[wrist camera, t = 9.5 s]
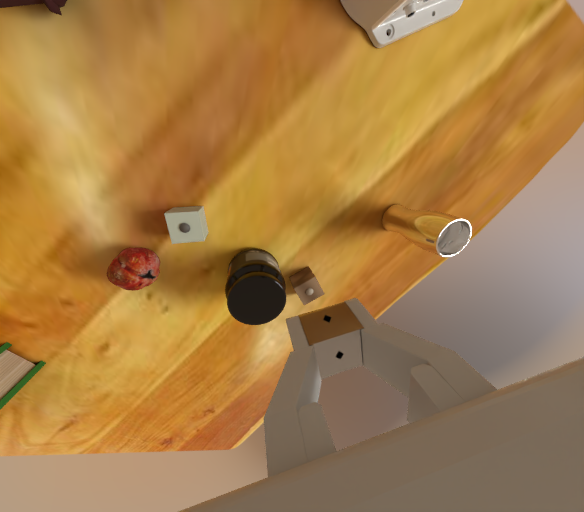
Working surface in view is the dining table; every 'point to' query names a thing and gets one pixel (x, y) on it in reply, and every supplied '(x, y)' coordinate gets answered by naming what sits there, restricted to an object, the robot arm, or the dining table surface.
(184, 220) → the sage cube
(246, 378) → the dining table surface
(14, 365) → the hardback book
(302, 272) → the walnut cube
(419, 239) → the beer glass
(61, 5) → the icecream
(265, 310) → the supplement container
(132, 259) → the pomegranate
